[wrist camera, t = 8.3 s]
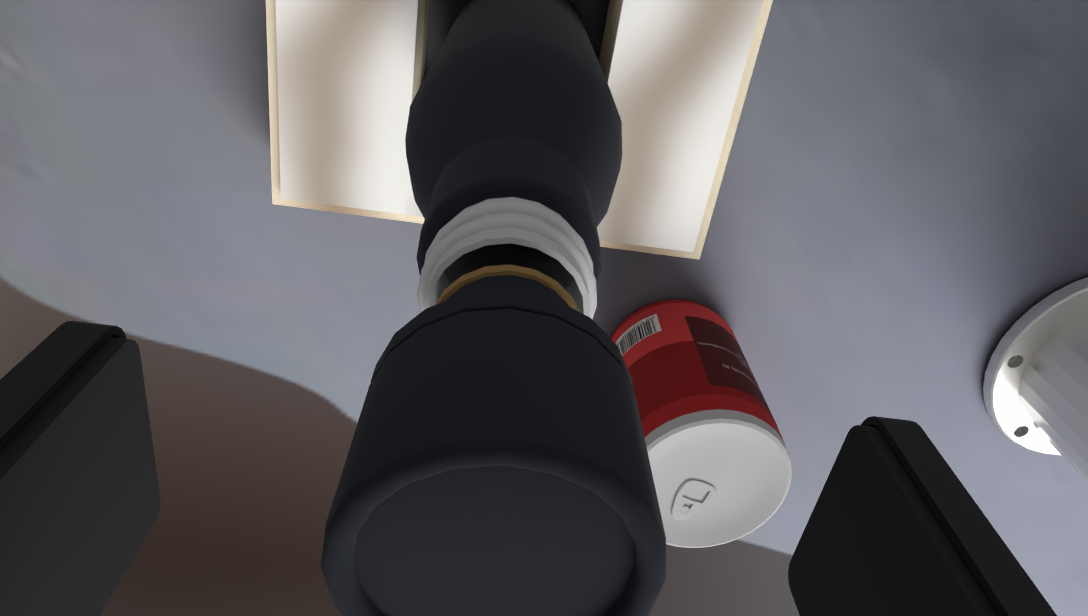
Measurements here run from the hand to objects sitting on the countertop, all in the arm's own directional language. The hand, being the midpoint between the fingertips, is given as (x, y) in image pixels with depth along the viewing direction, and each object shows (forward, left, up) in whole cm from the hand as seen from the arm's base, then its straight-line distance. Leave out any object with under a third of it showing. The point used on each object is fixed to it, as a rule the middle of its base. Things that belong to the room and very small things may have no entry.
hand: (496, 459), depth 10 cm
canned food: (-11, +15, -28) cm, 34 cm away
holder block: (0, 0, -28) cm, 28 cm away
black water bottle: (0, 0, -28) cm, 28 cm away
